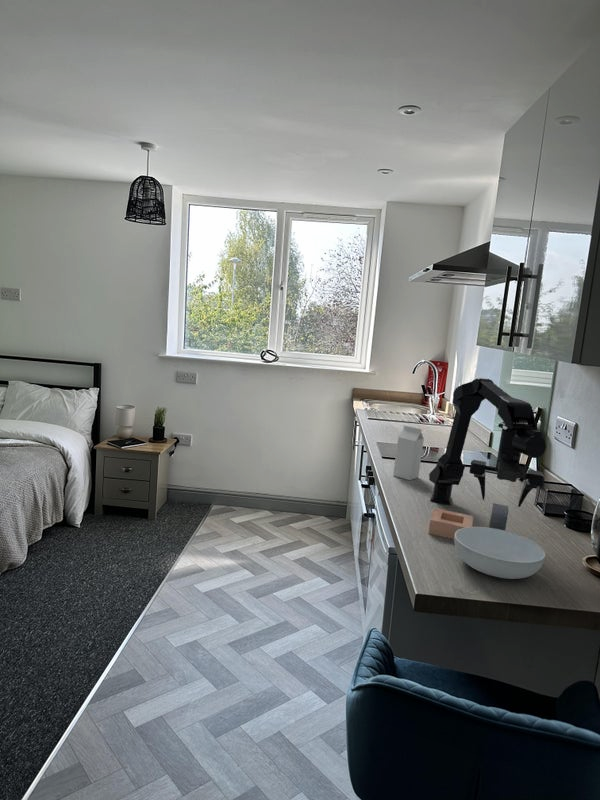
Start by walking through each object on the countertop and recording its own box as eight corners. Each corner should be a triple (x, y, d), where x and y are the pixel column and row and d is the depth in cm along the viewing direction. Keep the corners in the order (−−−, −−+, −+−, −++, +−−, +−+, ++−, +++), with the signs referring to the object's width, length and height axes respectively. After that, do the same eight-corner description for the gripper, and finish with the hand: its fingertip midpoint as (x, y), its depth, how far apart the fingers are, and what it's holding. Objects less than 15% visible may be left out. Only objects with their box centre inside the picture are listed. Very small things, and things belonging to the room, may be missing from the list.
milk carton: (410, 480, 201) (417, 430, 198) (392, 475, 205) (399, 426, 202) (418, 477, 207) (425, 428, 204) (401, 472, 211) (408, 424, 208)
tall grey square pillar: (487, 537, 154) (493, 503, 152) (502, 540, 152) (508, 506, 151) (487, 542, 150) (492, 507, 148) (502, 545, 149) (508, 510, 147)
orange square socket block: (432, 520, 162) (434, 508, 161) (471, 529, 158) (473, 516, 158) (428, 533, 151) (430, 519, 151) (469, 542, 148) (471, 528, 147)
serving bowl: (521, 555, 143) (526, 530, 142) (555, 595, 123) (561, 567, 122) (442, 546, 144) (446, 521, 143) (462, 585, 123) (467, 556, 122)
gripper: (473, 447, 142) (464, 504, 145) (550, 460, 137) (539, 520, 139) (474, 439, 153) (466, 493, 155) (546, 451, 147) (536, 507, 149)
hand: (500, 503), depth 149 cm, fingers open, 9 cm apart
